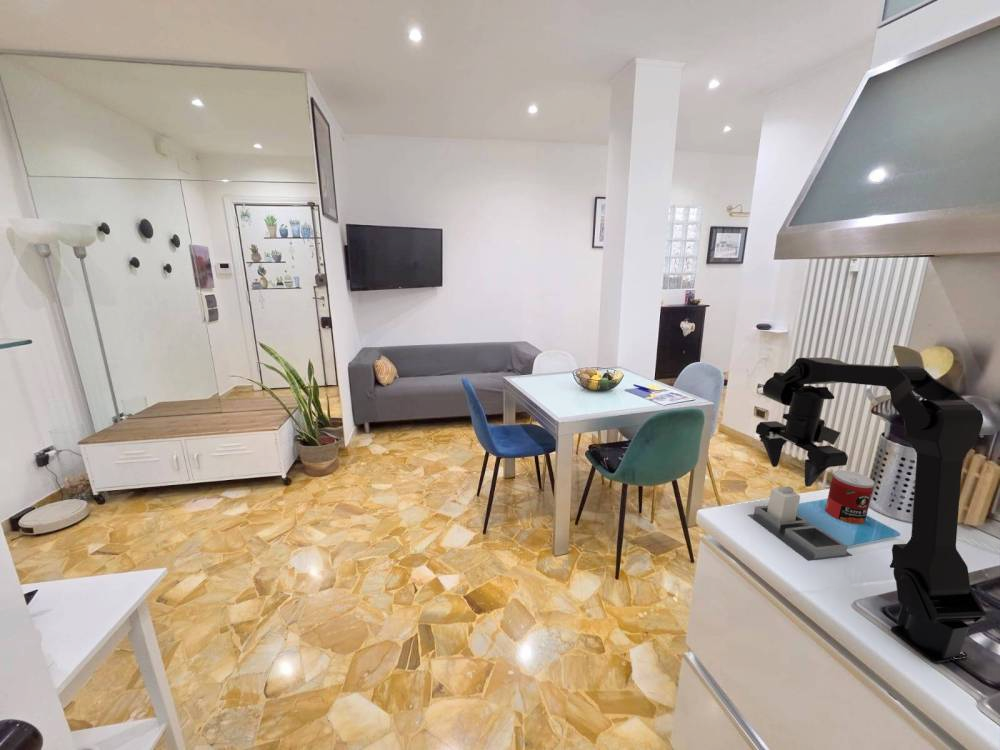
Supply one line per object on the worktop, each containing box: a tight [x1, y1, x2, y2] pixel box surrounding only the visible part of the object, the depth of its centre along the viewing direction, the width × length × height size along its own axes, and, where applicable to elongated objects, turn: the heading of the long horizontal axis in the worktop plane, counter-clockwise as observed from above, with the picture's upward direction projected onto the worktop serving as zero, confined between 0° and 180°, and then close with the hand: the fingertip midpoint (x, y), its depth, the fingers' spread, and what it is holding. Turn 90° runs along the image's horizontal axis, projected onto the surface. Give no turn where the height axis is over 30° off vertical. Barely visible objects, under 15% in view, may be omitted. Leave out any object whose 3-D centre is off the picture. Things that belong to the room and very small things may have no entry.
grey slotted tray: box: [747, 505, 853, 562], centre depth 93 cm, size 17×11×3 cm, turn 9°
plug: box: [767, 486, 801, 522], centre depth 97 cm, size 4×4×9 cm
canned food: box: [825, 469, 875, 525], centre depth 100 cm, size 8×8×11 cm
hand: (790, 475), depth 94 cm, fingers open, 9 cm apart
